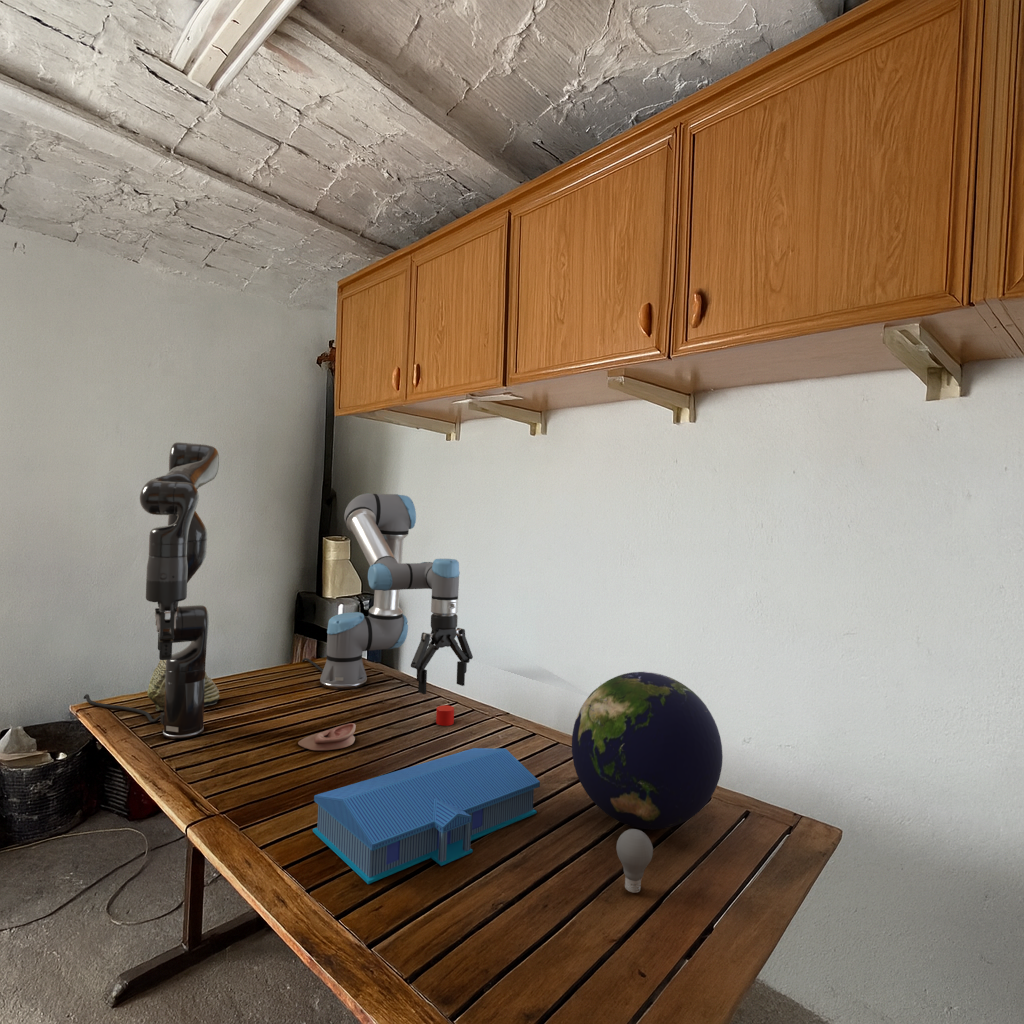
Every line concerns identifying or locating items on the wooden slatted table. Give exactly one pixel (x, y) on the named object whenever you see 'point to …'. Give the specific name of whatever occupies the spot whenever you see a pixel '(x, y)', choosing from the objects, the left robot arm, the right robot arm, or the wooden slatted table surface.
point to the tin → (445, 715)
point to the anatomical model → (330, 738)
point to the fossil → (158, 688)
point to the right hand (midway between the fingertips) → (441, 688)
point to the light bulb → (634, 857)
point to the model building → (424, 811)
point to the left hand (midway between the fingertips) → (164, 654)
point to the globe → (647, 750)
